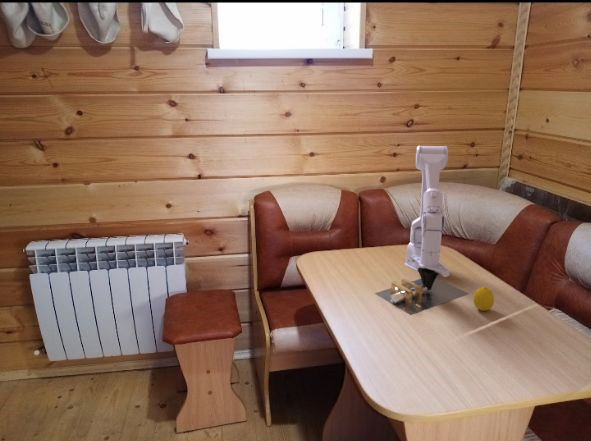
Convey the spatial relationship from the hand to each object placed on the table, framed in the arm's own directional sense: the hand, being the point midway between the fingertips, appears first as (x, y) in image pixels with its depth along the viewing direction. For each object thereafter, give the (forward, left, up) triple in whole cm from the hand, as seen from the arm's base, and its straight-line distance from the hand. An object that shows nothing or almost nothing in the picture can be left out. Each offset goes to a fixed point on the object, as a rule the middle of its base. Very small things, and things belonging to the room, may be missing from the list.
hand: (427, 289), depth 151 cm
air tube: (0, -8, -1) cm, 8 cm away
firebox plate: (0, -2, -1) cm, 3 cm away
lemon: (+17, +5, -2) cm, 18 cm away
